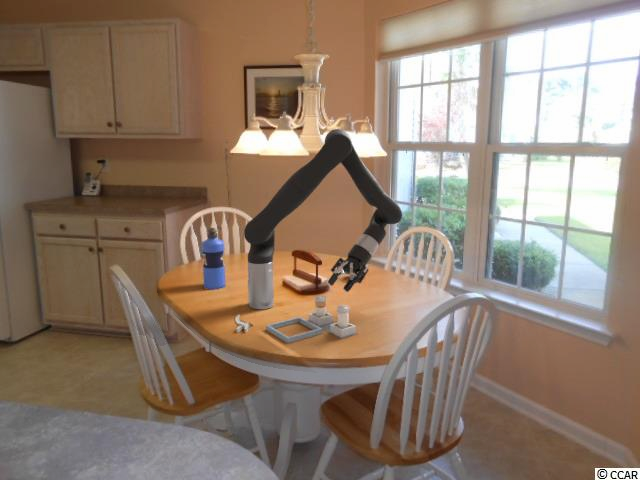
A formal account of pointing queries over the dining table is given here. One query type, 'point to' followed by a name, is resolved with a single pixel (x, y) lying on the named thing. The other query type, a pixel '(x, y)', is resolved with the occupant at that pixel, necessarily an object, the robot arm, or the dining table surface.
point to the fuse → (343, 316)
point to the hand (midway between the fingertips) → (337, 287)
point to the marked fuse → (320, 306)
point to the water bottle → (213, 261)
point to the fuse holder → (332, 326)
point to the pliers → (242, 325)
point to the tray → (315, 331)
